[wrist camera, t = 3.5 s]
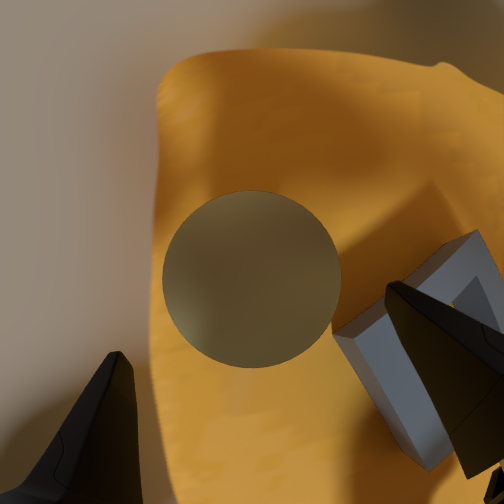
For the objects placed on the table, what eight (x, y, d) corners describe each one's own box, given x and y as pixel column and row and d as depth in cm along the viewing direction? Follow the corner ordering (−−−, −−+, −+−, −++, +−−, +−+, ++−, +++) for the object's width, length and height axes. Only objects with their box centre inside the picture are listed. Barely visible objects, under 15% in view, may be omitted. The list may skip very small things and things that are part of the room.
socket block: (497, 356, 17) (529, 358, 13) (402, 451, 15) (428, 472, 12) (445, 243, 19) (477, 229, 15) (332, 334, 17) (353, 339, 13)
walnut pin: (302, 310, 18) (373, 302, 7) (240, 349, 17) (222, 400, 6) (263, 250, 19) (278, 163, 8) (202, 287, 18) (133, 247, 7)
